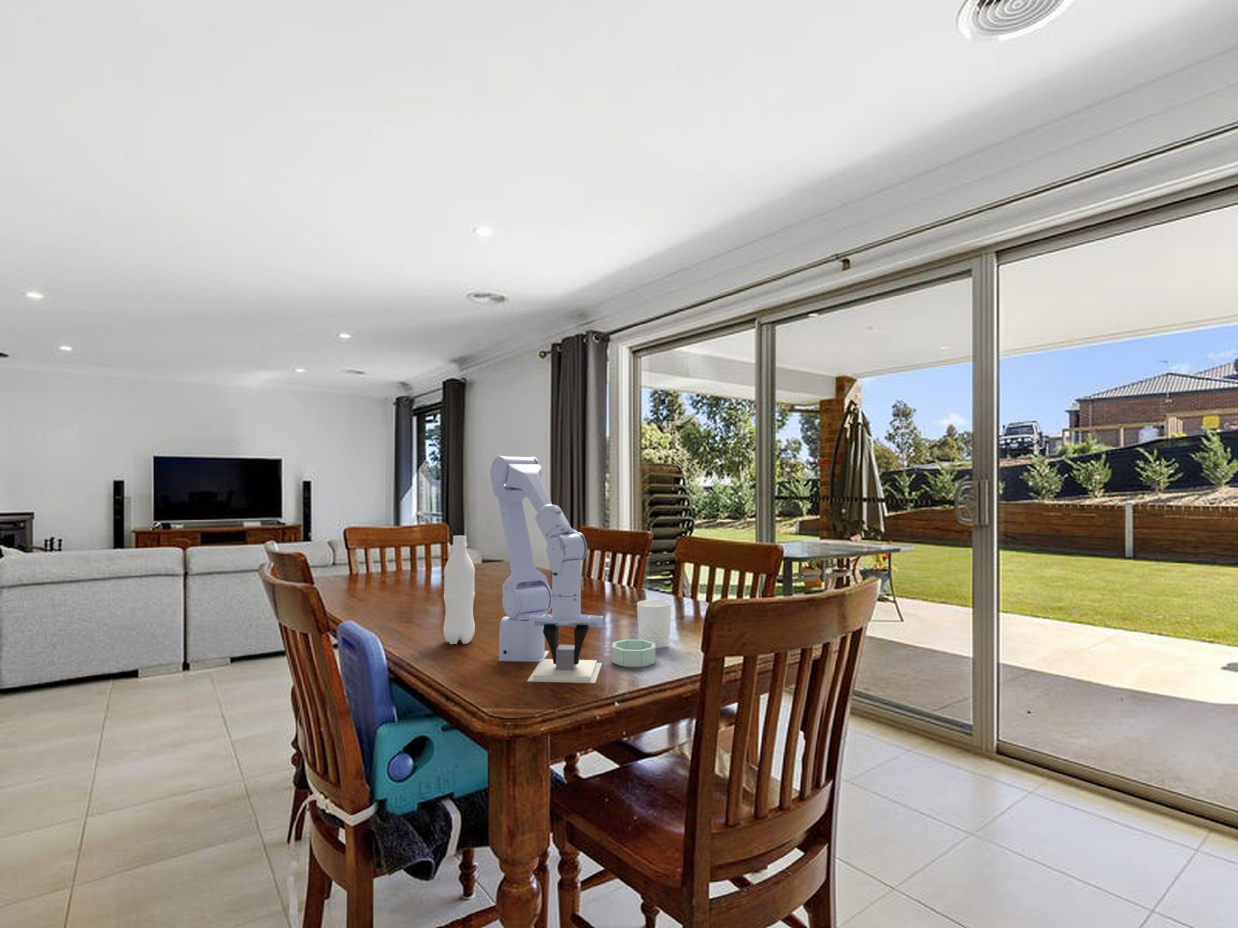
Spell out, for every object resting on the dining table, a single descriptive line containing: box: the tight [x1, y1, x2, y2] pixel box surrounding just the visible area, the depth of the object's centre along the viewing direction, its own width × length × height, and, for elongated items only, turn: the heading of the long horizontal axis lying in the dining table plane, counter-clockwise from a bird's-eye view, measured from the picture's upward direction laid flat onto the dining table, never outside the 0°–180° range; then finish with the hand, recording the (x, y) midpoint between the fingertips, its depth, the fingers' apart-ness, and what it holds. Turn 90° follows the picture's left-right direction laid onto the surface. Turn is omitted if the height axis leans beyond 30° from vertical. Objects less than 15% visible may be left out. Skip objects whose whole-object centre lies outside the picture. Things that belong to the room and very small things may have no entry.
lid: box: [533, 644, 598, 681], centre depth 129 cm, size 11×11×5 cm
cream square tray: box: [526, 661, 603, 684], centre depth 129 cm, size 13×13×1 cm
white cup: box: [636, 599, 672, 649], centre depth 150 cm, size 8×8×10 cm
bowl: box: [611, 639, 656, 668], centre depth 137 cm, size 9×9×4 cm
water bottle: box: [442, 535, 476, 645], centre depth 154 cm, size 7×7×25 cm
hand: (566, 662), depth 129 cm, fingers closed on lid, 3 cm apart
